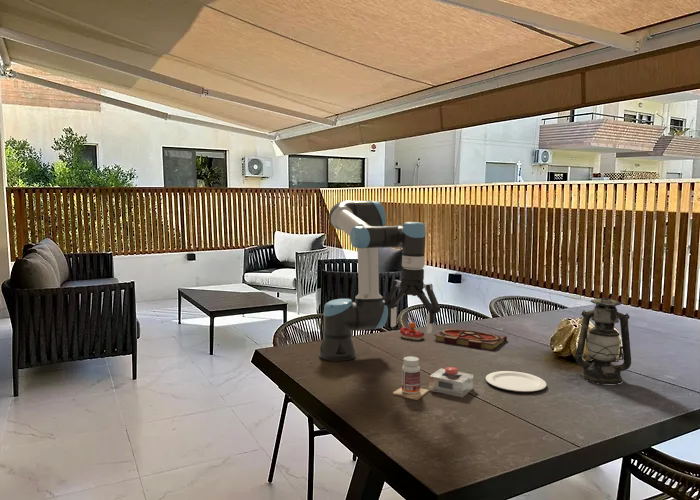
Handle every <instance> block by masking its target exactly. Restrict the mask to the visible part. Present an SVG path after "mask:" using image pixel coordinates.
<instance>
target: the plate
mask: <svg viewBox="0 0 700 500" xmlns="http://www.w3.org/2000/svg"><path fill="white" fill-rule="evenodd" d="M485 381H486V382H487V383H488V384H489V385H490V386H493V387H495V388H497V389H500V390H504V391H509V392H517V393H535V392H539V391H542V390H544V389H546V388H547V385H548V384H547V382H546V381H545V380H544V379H542V378H541V377H539V376H536V375H534V374H531V373H526V372H522V371H521V372H520V371H511V370H500V371H493V372H490V373H489V374H487V375H486V376H485Z"/></svg>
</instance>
